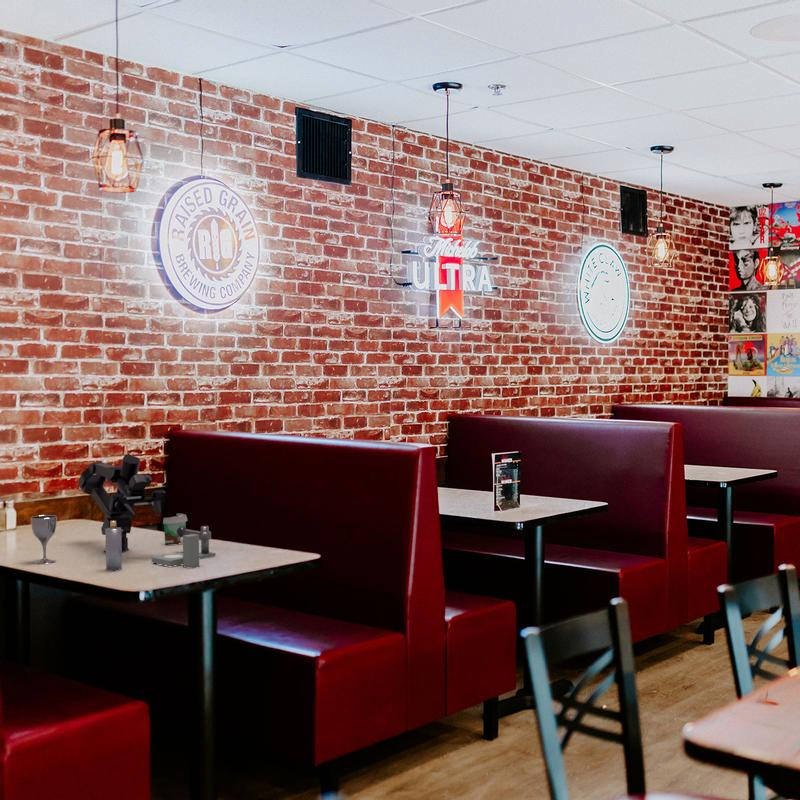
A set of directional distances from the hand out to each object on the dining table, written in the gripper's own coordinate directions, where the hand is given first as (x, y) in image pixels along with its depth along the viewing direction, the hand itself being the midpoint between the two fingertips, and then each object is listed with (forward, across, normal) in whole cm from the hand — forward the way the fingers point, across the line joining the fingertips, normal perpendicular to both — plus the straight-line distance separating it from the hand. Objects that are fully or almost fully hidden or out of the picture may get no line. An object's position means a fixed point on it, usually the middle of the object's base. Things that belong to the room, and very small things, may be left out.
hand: (147, 514), depth 327 cm
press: (+16, +11, +9) cm, 21 cm away
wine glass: (-13, -26, +24) cm, 38 cm away
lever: (+4, +18, +14) cm, 23 cm away
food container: (-17, +24, +26) cm, 40 cm away
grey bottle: (+12, -14, +11) cm, 22 cm away
